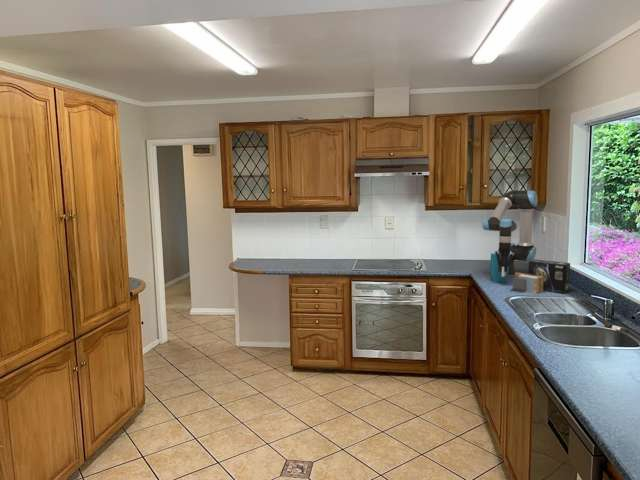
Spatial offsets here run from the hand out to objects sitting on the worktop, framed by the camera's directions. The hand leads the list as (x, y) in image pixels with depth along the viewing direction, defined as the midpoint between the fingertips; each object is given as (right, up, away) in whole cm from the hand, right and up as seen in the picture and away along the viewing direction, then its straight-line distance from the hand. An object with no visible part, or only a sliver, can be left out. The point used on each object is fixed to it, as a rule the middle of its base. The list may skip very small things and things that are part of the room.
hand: (503, 276), depth 316 cm
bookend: (+4, -9, -14) cm, 17 cm away
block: (+3, -5, +15) cm, 16 cm away
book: (+11, -9, -13) cm, 19 cm away
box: (+25, -9, -10) cm, 29 cm away
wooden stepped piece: (+10, -8, -11) cm, 17 cm away
